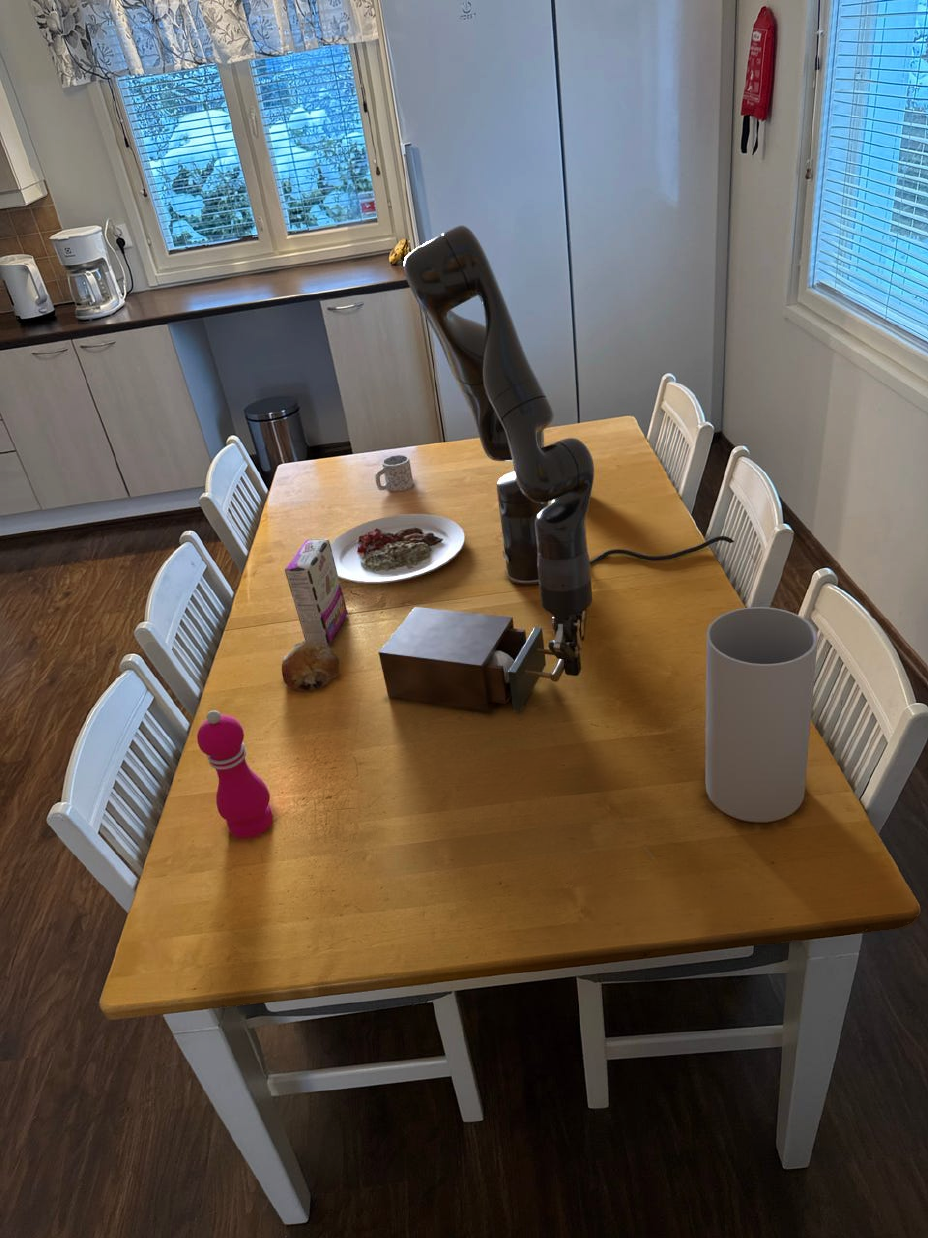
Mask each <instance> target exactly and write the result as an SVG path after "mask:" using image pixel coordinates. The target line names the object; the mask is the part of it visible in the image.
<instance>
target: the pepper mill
mask: <svg viewBox="0 0 928 1238" xmlns="http://www.w3.org/2000/svg"><path fill="white" fill-rule="evenodd" d="M196 738H197V739H196V740H197V741H196V742H197V744H198V747H199V749H200V751H201V752H202V753H203V754H205V755H206V758H207V760H208V763H209V765H210V767H211V768H213V769H215V771H216V774H217V777H218V786H217V790H216V795H215V796H216V797H215V799H216V801H215V803H216V808H217V811H218V814H219V815H220V817H221V818H222V819H223V820H225V821H226V824H227V827H228V831H229V833H230V834H231V835H232V836H234V837H235V838H238V839H243V840H245V839H251V838H255V837H257V836H260V835H262V834H263V833H265V832H266V831H267V830H268V829H269V827H270V826H271V825H272V823H273V820H274V814H273V810H272V808H271V805H270V804H269V803H270V800H271V799H270V798H271V796H270V791H269V788H268V786H267V784H266V783H265V782H264V781H263V779H262V778H261V777H260V776H259V775H258V774H257V773H255V771H253V770H252V769H251V768H250V766H249V765H248V763H247V761H246V756H247V749H246V747H245V743H244V739H245V733H244V729H243V726H242V724H241V722H240V721H239V720H237V718H235V717H233V716H231V715H229V714H221V713H220V712H219V711H218V710H215V709H213V710H210V711H209V712H207V714H206V720H205V721H203V722H202V723H201V725H200V726H199V728H198V731H197V735H196Z"/></svg>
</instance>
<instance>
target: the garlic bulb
mask: <svg viewBox="0 0 928 1238" xmlns="http://www.w3.org/2000/svg"><path fill="white" fill-rule="evenodd" d="M513 663H514V660H513V659H512V658H511V657H510V656H509V655H508V654H506V653H504V652H502V651H494V653H493V654H492V656H491V657H490V659H489V660H488V662H487V664H491V665H499V666H503V669H504V676H505V683H506V684H507V683H509V682H510V681H509V674H508V671H509V670H510V668H511V666H512V665H513Z"/></svg>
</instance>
